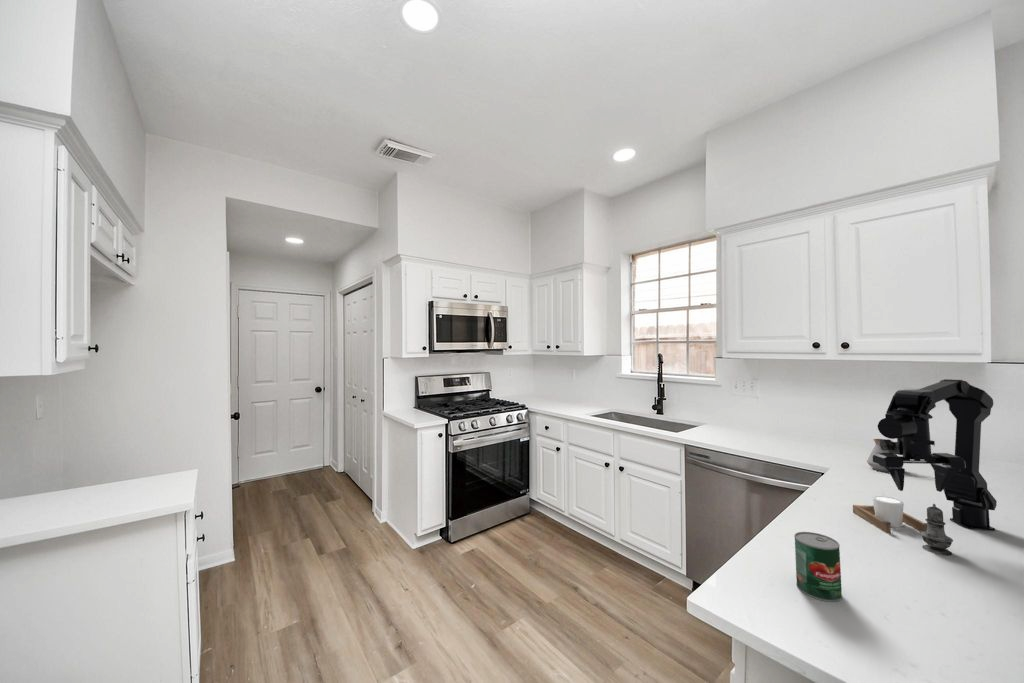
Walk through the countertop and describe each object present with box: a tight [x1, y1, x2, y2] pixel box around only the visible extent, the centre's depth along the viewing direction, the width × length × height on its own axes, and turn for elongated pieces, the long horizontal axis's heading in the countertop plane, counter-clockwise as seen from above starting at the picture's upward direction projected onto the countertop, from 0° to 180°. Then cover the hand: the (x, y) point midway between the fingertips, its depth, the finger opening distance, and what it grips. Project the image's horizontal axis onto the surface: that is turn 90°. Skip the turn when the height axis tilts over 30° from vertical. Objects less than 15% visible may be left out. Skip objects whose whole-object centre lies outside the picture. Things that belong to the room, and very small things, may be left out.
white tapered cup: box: [871, 495, 905, 528], centre depth 118 cm, size 7×7×7 cm
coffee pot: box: [866, 438, 936, 473], centre depth 166 cm, size 21×12×15 cm, turn 32°
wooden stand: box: [852, 504, 927, 534], centre depth 117 cm, size 11×15×3 cm
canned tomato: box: [793, 531, 843, 603], centre depth 85 cm, size 8×8×11 cm
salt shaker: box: [919, 503, 954, 557], centre depth 102 cm, size 6×6×12 cm
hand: (919, 490), depth 110 cm, fingers open, 9 cm apart
